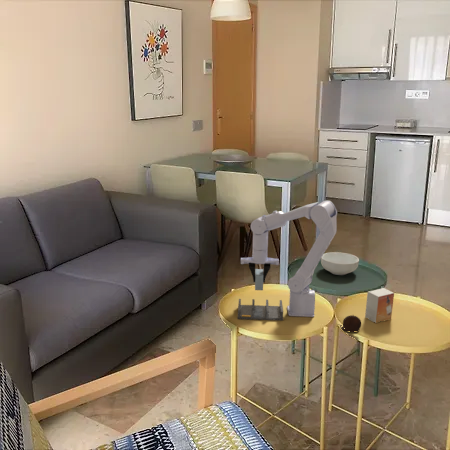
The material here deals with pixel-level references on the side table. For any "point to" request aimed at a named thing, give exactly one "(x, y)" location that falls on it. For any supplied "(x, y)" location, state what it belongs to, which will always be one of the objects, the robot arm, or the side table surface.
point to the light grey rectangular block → (258, 279)
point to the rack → (260, 311)
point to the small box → (379, 305)
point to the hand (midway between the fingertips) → (259, 281)
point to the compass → (351, 323)
